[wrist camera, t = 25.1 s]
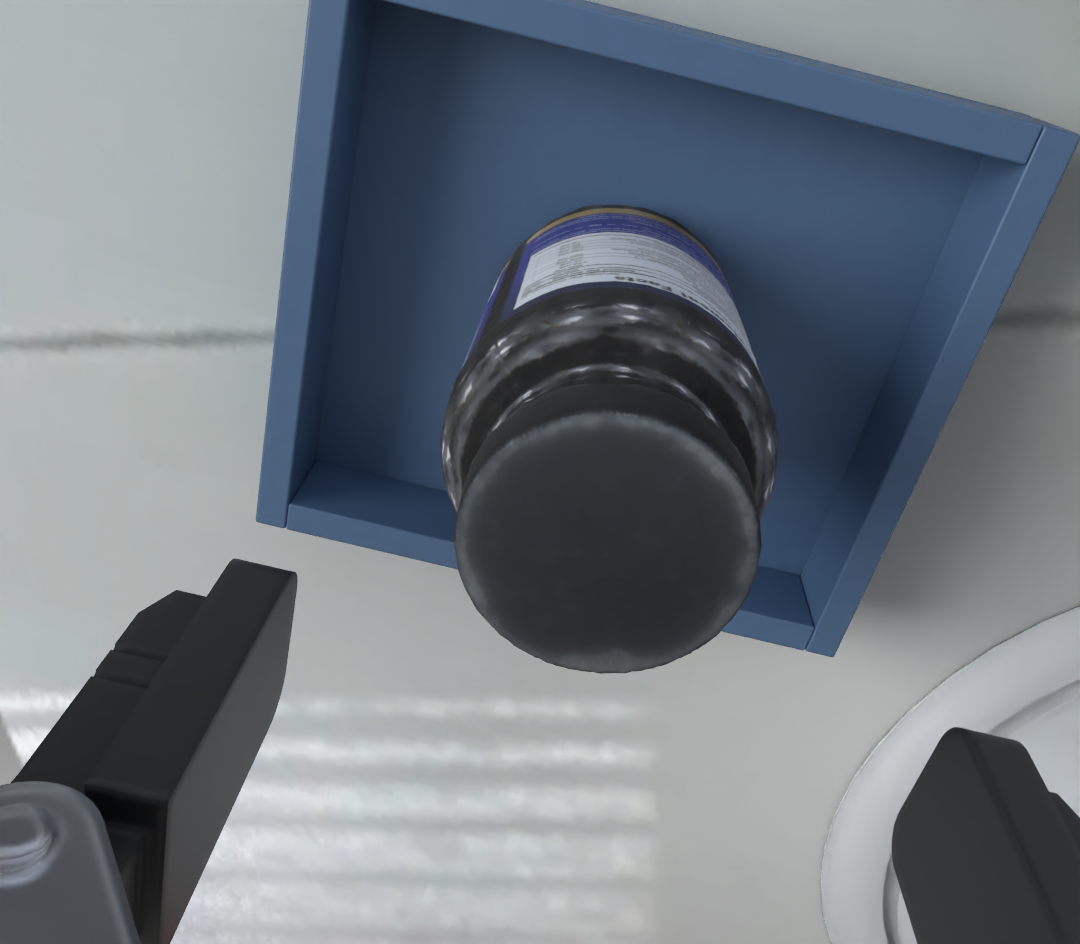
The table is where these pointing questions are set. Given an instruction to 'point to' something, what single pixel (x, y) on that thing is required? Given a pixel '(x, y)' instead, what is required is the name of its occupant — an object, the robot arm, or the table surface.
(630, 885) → the table surface
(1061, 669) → the round ceiling alarm
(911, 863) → the robot arm
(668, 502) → the pill bottle
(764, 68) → the blue tray
